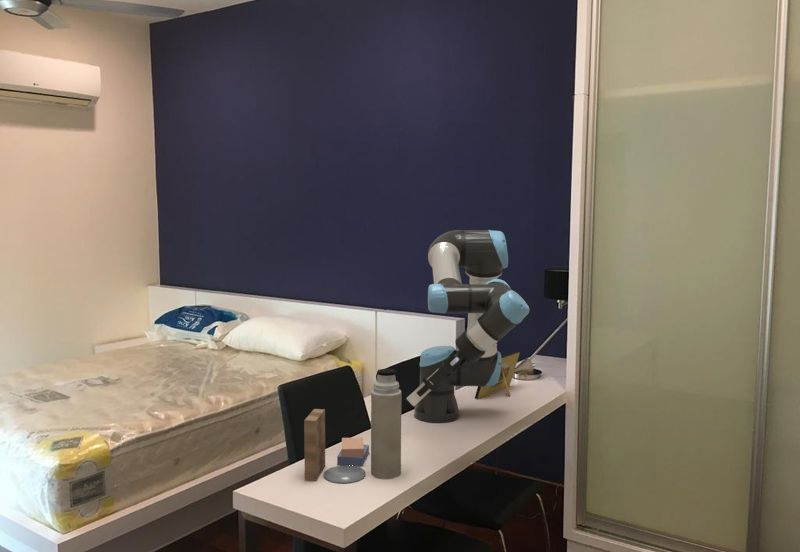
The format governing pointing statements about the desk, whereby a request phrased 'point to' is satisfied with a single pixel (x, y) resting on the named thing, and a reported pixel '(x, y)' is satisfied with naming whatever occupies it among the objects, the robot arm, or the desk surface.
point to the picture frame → (501, 376)
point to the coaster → (344, 474)
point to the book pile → (352, 452)
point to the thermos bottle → (386, 426)
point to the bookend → (314, 444)
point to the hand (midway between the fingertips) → (417, 395)
